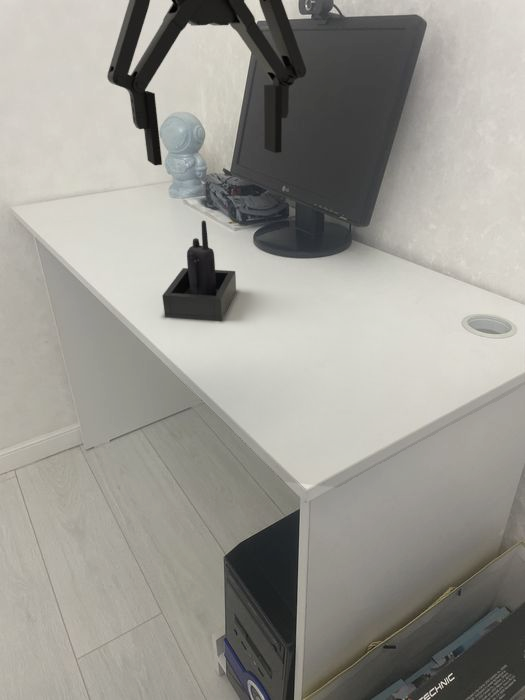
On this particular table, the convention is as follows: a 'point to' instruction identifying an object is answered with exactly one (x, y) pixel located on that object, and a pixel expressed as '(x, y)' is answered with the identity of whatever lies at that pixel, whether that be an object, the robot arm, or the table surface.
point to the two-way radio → (201, 266)
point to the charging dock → (199, 297)
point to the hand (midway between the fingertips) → (216, 156)
